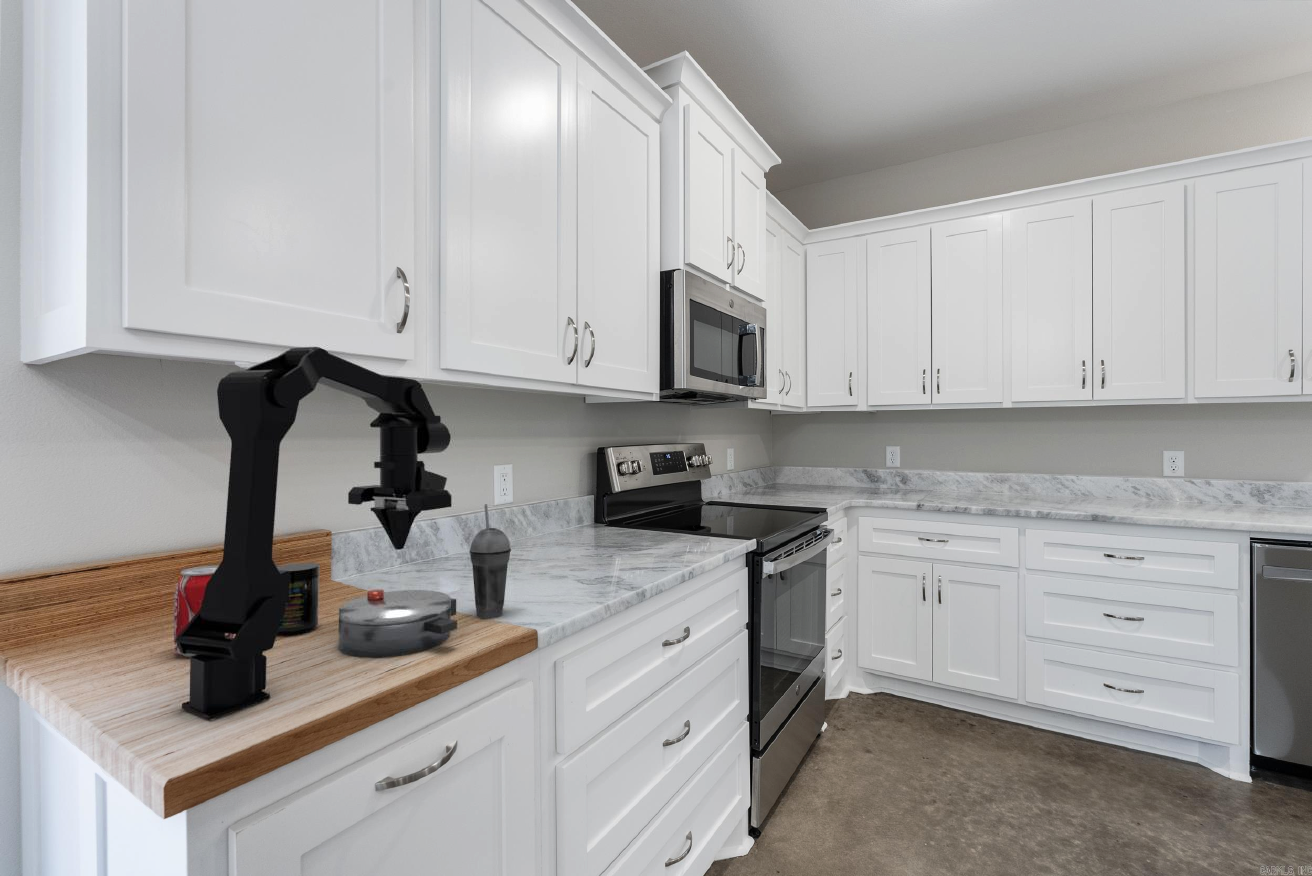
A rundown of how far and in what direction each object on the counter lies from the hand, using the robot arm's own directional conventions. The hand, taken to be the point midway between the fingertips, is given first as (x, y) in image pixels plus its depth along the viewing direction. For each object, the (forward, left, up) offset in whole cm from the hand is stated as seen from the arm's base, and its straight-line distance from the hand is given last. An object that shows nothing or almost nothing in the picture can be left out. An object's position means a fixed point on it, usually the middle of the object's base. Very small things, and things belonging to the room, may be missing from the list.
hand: (399, 549), depth 98 cm
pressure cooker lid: (-4, -4, -8) cm, 10 cm away
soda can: (-21, +16, -13) cm, 29 cm away
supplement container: (-9, +14, -13) cm, 21 cm away
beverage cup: (+13, -8, -13) cm, 20 cm away
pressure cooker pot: (-4, -4, -13) cm, 14 cm away
